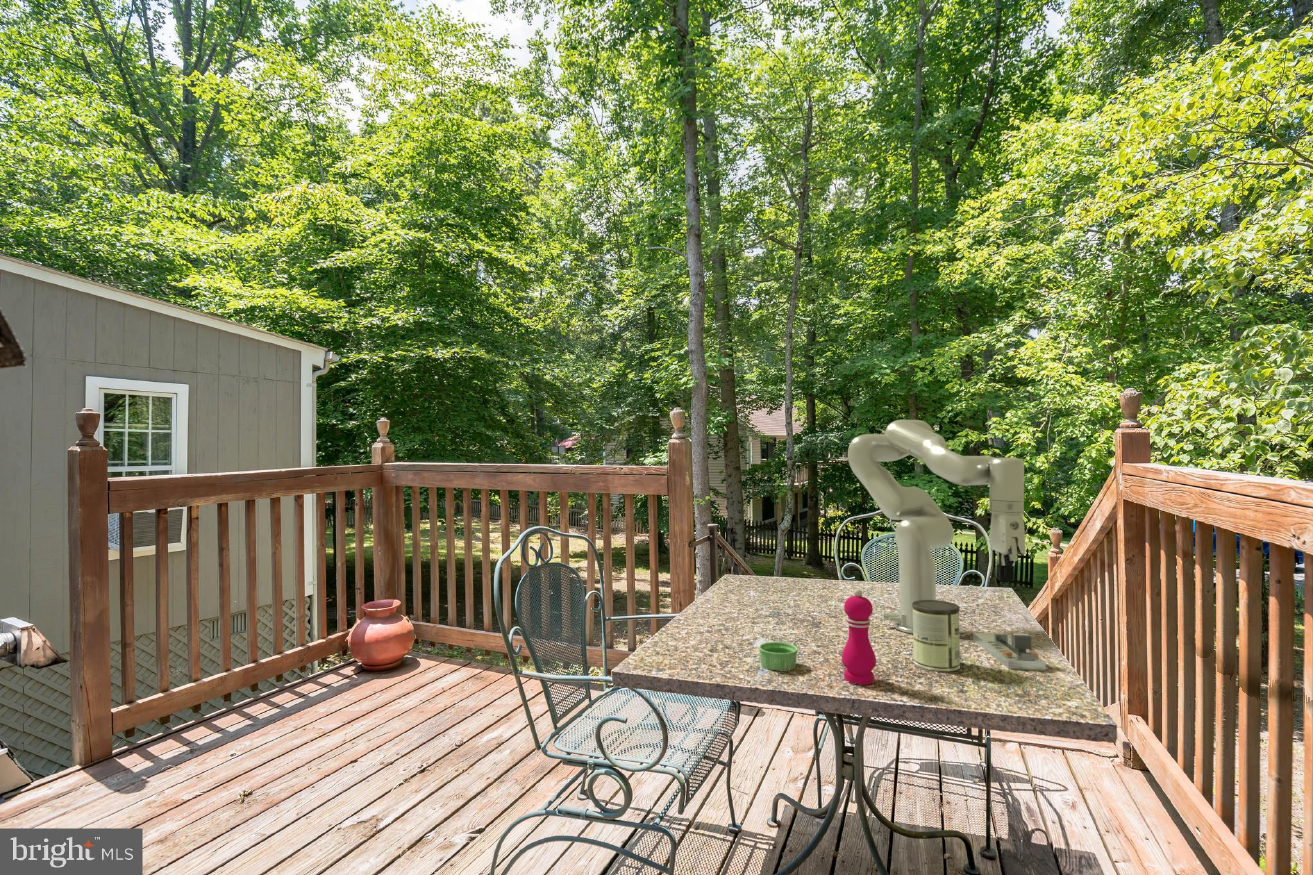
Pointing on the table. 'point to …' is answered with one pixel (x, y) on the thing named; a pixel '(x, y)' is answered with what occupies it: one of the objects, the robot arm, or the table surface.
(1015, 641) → the fader tab
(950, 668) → the coffee can
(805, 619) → the table surface
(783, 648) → the ramekin
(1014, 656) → the console
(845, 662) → the pepper mill
